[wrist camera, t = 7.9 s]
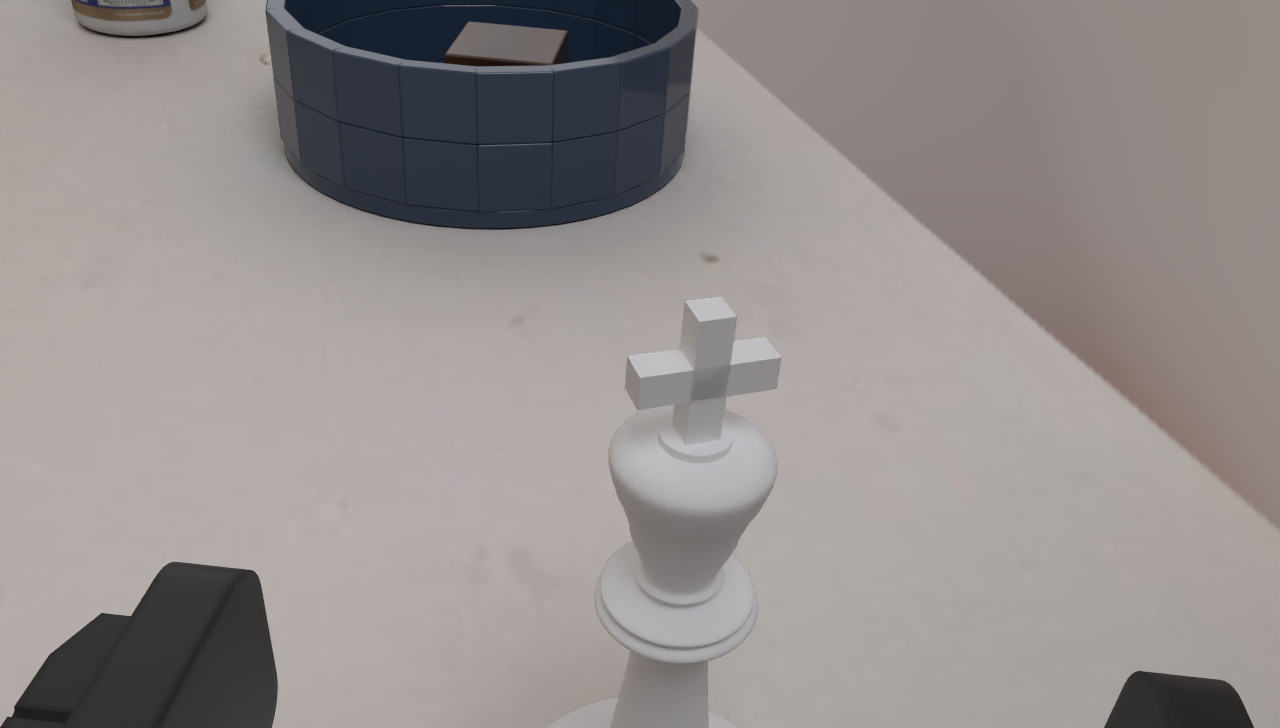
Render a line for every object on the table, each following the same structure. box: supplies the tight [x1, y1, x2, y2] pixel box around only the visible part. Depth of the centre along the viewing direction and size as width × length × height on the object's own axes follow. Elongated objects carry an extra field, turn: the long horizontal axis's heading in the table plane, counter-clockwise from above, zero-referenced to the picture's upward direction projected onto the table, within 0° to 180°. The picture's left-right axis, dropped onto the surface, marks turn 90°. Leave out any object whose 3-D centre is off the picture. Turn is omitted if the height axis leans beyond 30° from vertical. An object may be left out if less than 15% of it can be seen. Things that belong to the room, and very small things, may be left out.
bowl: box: [265, 0, 698, 228], centre depth 39 cm, size 14×14×5 cm
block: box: [444, 22, 568, 67], centre depth 38 cm, size 4×4×4 cm
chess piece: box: [546, 297, 781, 728], centre depth 15 cm, size 5×5×10 cm
